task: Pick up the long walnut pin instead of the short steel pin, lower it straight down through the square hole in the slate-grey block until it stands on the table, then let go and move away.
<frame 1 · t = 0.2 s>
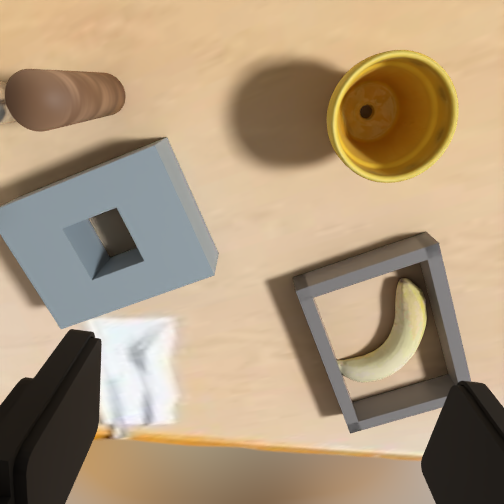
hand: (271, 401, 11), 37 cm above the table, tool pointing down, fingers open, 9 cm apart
hole block: (120, 226, 48), on the table
fruit: (379, 325, 54), on the table
plant pot: (365, 111, 44), on the table
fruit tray: (381, 331, 53), on the table
long walnut pin: (105, 94, 43), on the table
short steel pin: (3, 102, 43), on the table
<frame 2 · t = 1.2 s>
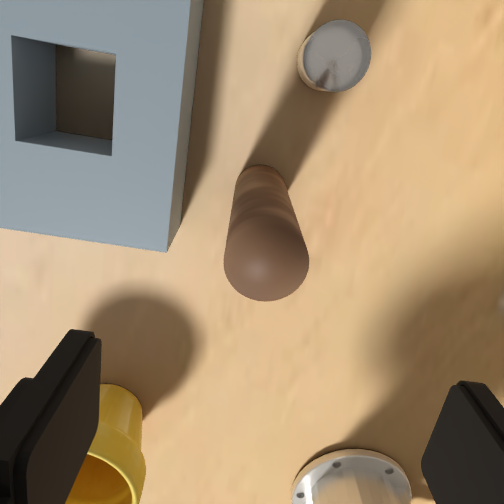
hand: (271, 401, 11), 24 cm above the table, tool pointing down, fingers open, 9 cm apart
hole block: (97, 96, 31), on the table
plant pot: (109, 407, 42), on the table
long walnut pin: (260, 190, 34), on the table
short steel pin: (324, 61, 31), on the table
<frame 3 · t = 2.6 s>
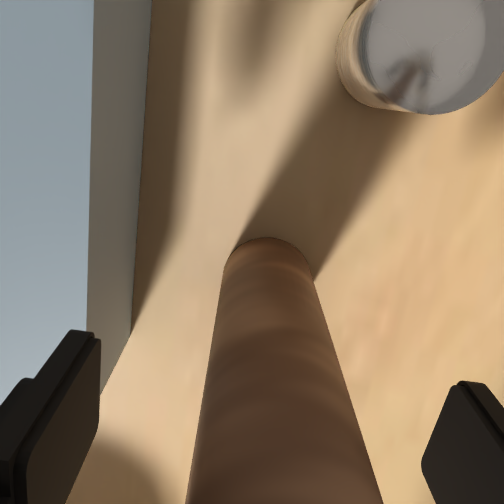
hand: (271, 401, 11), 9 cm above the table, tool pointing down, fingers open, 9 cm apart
long walnut pin: (266, 279, 20), on the table
short steel pin: (388, 53, 16), on the table
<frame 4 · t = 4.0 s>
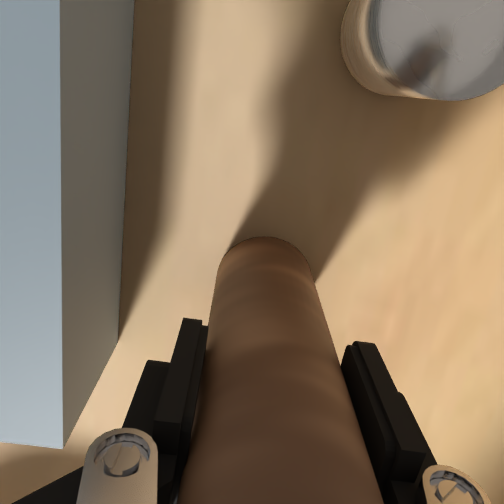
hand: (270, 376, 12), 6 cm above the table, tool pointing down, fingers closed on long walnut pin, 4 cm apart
long walnut pin: (263, 281, 18), on the table, touching gripper
short steel pin: (398, 33, 15), on the table
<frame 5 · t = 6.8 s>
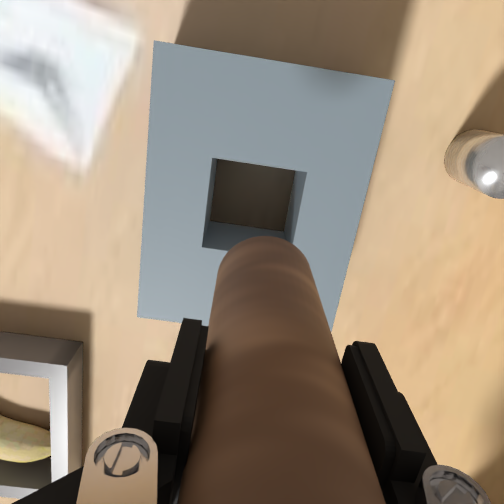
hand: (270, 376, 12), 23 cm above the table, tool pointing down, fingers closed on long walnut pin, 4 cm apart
hole block: (252, 190, 33), on the table
fruit: (0, 394, 41), on the table
long walnut pin: (264, 280, 18), point 16 cm above the table, touching gripper
short steel pin: (470, 156, 32), on the table
when the fingers open (8 cm above the table, at t = 11.3 s): long walnut pin drops 2 cm, on the table.
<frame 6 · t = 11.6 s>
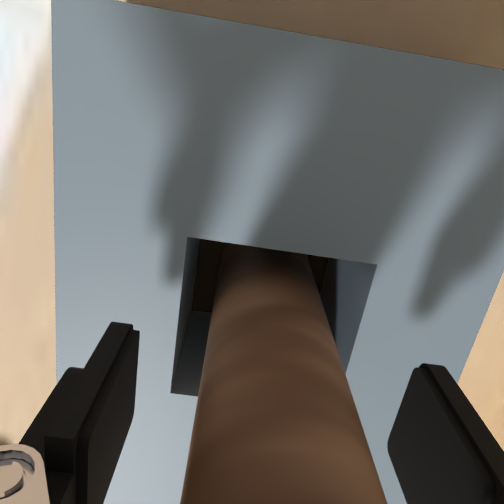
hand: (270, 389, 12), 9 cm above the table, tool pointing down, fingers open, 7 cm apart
hole block: (262, 262, 20), on the table
long walnut pin: (263, 263, 20), on the table
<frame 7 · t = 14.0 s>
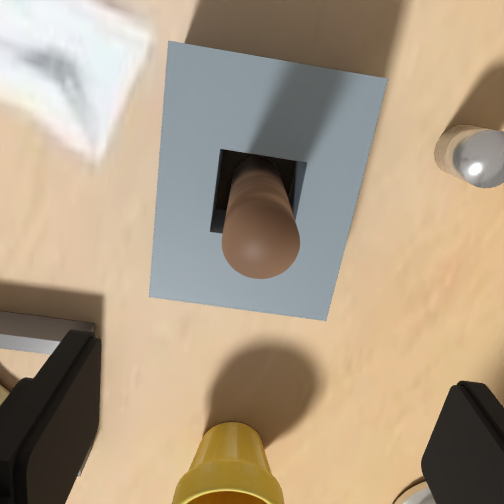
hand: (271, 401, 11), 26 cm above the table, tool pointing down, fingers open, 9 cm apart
hole block: (255, 180, 36), on the table
plant pot: (231, 442, 47), on the table
long walnut pin: (256, 180, 36), on the table
short steel pin: (459, 149, 35), on the table
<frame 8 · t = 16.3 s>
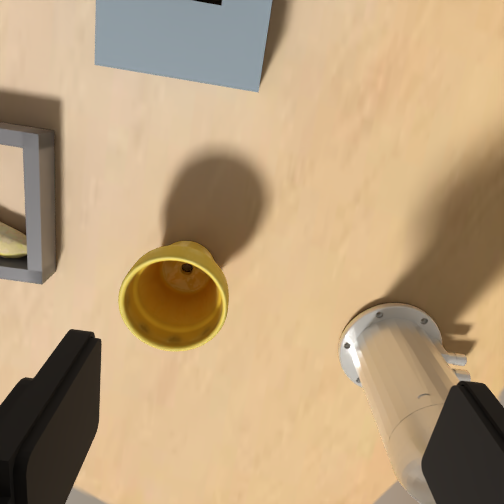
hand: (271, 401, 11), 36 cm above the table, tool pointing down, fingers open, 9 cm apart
plant pot: (187, 265, 50), on the table
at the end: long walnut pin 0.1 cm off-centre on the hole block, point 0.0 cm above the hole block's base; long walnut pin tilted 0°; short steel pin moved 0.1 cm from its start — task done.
